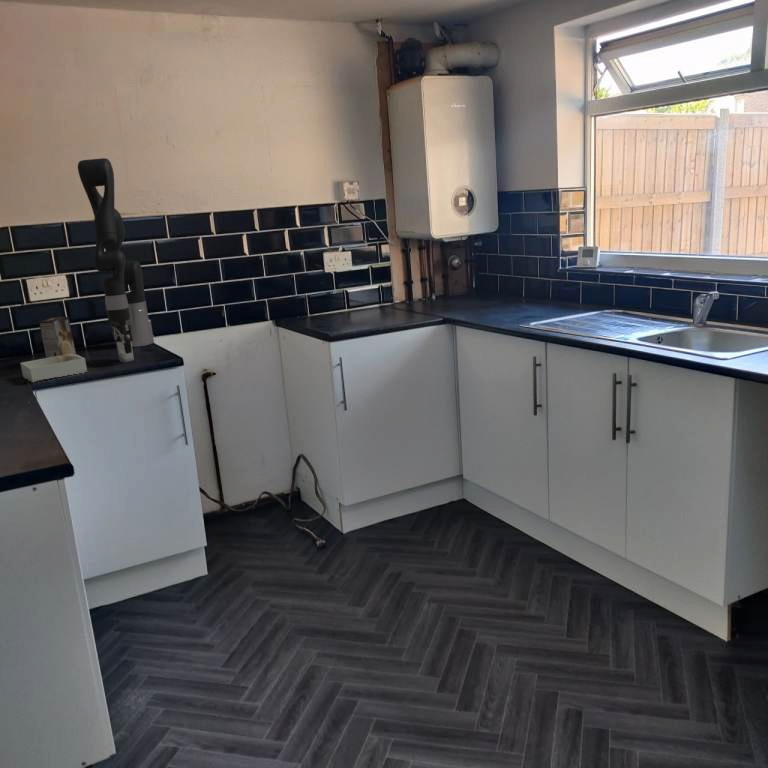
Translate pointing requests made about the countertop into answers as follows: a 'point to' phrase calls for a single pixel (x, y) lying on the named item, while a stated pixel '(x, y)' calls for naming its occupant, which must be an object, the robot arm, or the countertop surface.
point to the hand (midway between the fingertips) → (124, 351)
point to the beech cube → (65, 358)
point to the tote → (52, 368)
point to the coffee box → (57, 336)
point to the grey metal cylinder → (121, 351)
